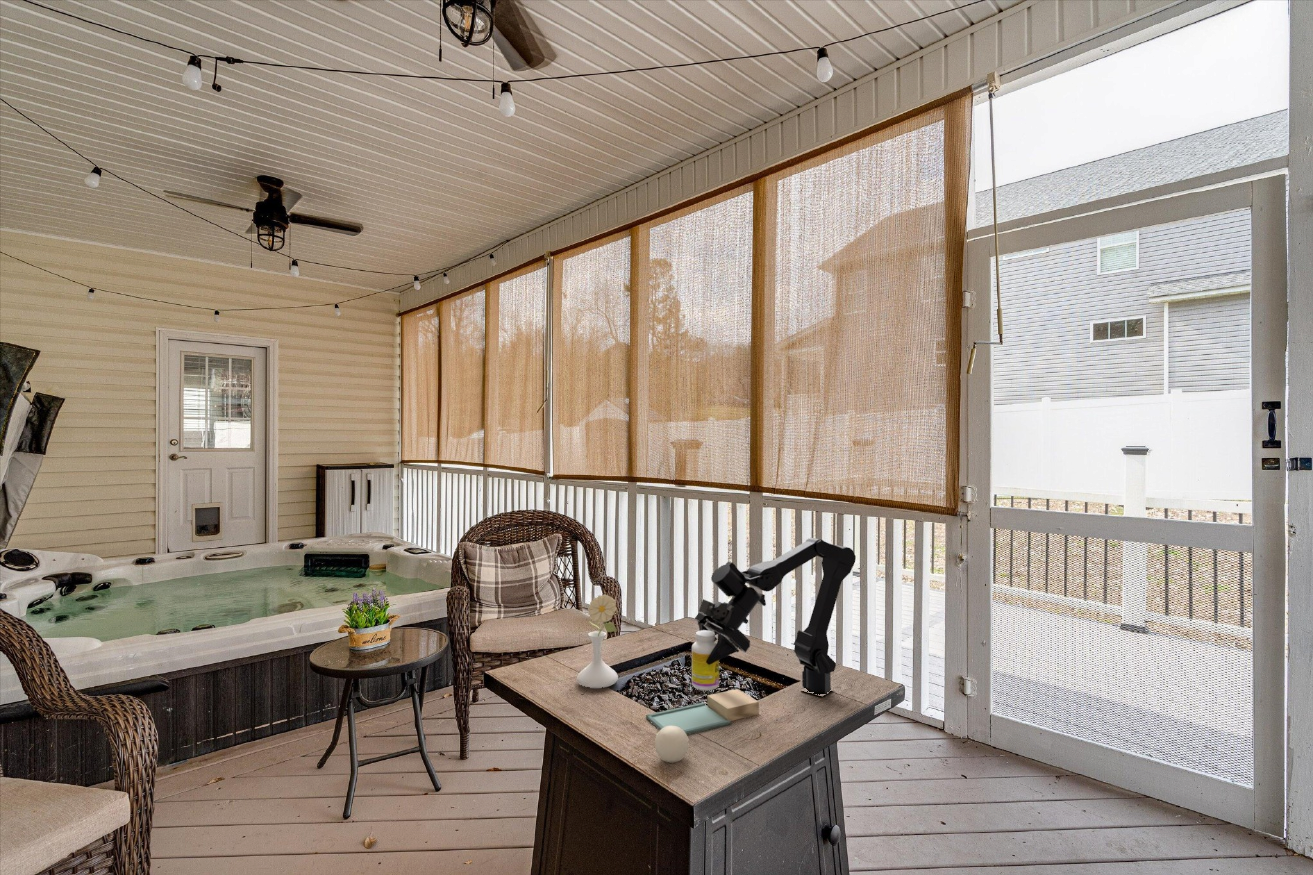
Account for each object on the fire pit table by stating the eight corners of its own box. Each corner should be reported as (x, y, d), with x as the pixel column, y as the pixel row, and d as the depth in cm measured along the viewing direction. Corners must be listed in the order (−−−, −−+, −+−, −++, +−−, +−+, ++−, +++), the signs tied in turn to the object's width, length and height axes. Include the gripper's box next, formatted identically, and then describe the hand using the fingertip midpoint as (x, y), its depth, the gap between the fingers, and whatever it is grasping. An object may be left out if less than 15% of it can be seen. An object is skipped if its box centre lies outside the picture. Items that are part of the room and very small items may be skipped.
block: (737, 700, 157) (737, 688, 157) (758, 714, 149) (758, 701, 149) (707, 707, 153) (707, 695, 153) (727, 721, 144) (727, 708, 145)
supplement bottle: (719, 692, 146) (718, 637, 146) (691, 690, 147) (691, 637, 147) (719, 680, 152) (719, 629, 153) (692, 679, 153) (692, 628, 153)
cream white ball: (696, 759, 127) (696, 726, 127) (672, 772, 122) (671, 738, 122) (673, 748, 132) (672, 716, 132) (648, 760, 127) (648, 727, 127)
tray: (703, 705, 154) (703, 702, 154) (730, 724, 143) (730, 720, 143) (646, 718, 147) (646, 714, 147) (669, 738, 136) (669, 735, 136)
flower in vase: (567, 685, 168) (567, 593, 168) (597, 673, 176) (597, 586, 177) (601, 697, 159) (600, 600, 160) (631, 684, 168) (630, 592, 169)
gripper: (700, 580, 160) (662, 628, 155) (738, 595, 143) (696, 650, 138) (727, 607, 163) (691, 655, 158) (767, 625, 146) (728, 679, 141)
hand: (700, 659), depth 149 cm, fingers closed on supplement bottle, 7 cm apart
